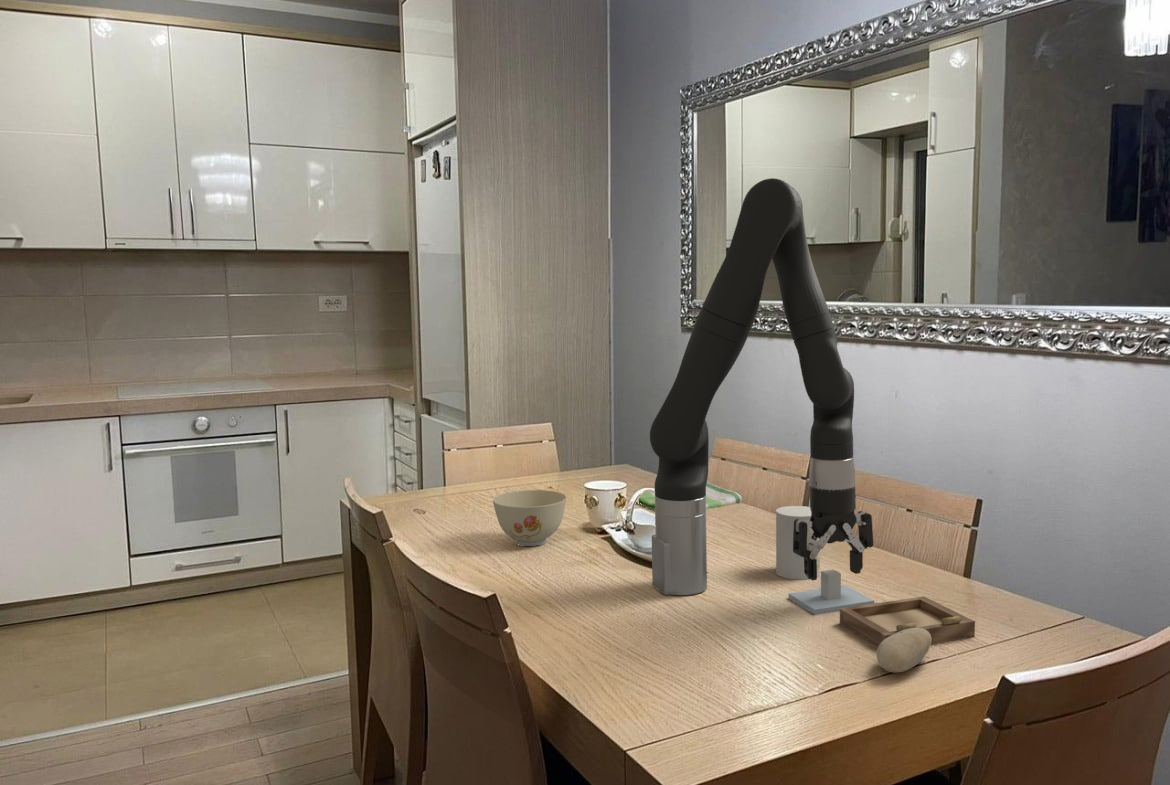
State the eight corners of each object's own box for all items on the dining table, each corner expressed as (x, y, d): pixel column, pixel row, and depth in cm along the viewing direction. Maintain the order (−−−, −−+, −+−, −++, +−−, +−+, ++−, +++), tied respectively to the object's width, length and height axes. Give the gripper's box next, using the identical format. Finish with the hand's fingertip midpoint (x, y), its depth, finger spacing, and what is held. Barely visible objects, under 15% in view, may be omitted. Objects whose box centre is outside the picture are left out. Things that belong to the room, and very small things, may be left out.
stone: (864, 657, 123) (886, 608, 133) (882, 695, 124) (903, 644, 133) (903, 654, 120) (924, 603, 129) (922, 693, 121) (941, 640, 130)
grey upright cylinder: (821, 580, 164) (821, 517, 163) (776, 578, 166) (776, 515, 164) (818, 566, 172) (819, 506, 171) (776, 565, 174) (775, 505, 172)
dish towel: (744, 504, 225) (744, 491, 224) (667, 517, 214) (667, 503, 214) (704, 492, 240) (704, 479, 240) (631, 503, 229) (631, 490, 229)
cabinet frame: (885, 651, 132) (885, 629, 131) (839, 622, 143) (839, 602, 143) (974, 636, 136) (975, 615, 136) (923, 610, 148) (924, 590, 147)
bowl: (481, 549, 190) (479, 504, 188) (514, 530, 204) (513, 488, 203) (549, 556, 184) (547, 509, 182) (578, 536, 198) (577, 492, 197)
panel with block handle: (814, 617, 147) (815, 584, 147) (788, 601, 155) (788, 568, 155) (874, 608, 151) (874, 575, 150) (845, 592, 159) (845, 561, 158)
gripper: (806, 491, 145) (808, 588, 147) (881, 482, 149) (882, 576, 151) (783, 483, 152) (785, 575, 154) (855, 474, 156) (857, 564, 158)
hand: (833, 575), depth 152 cm, fingers open, 8 cm apart
